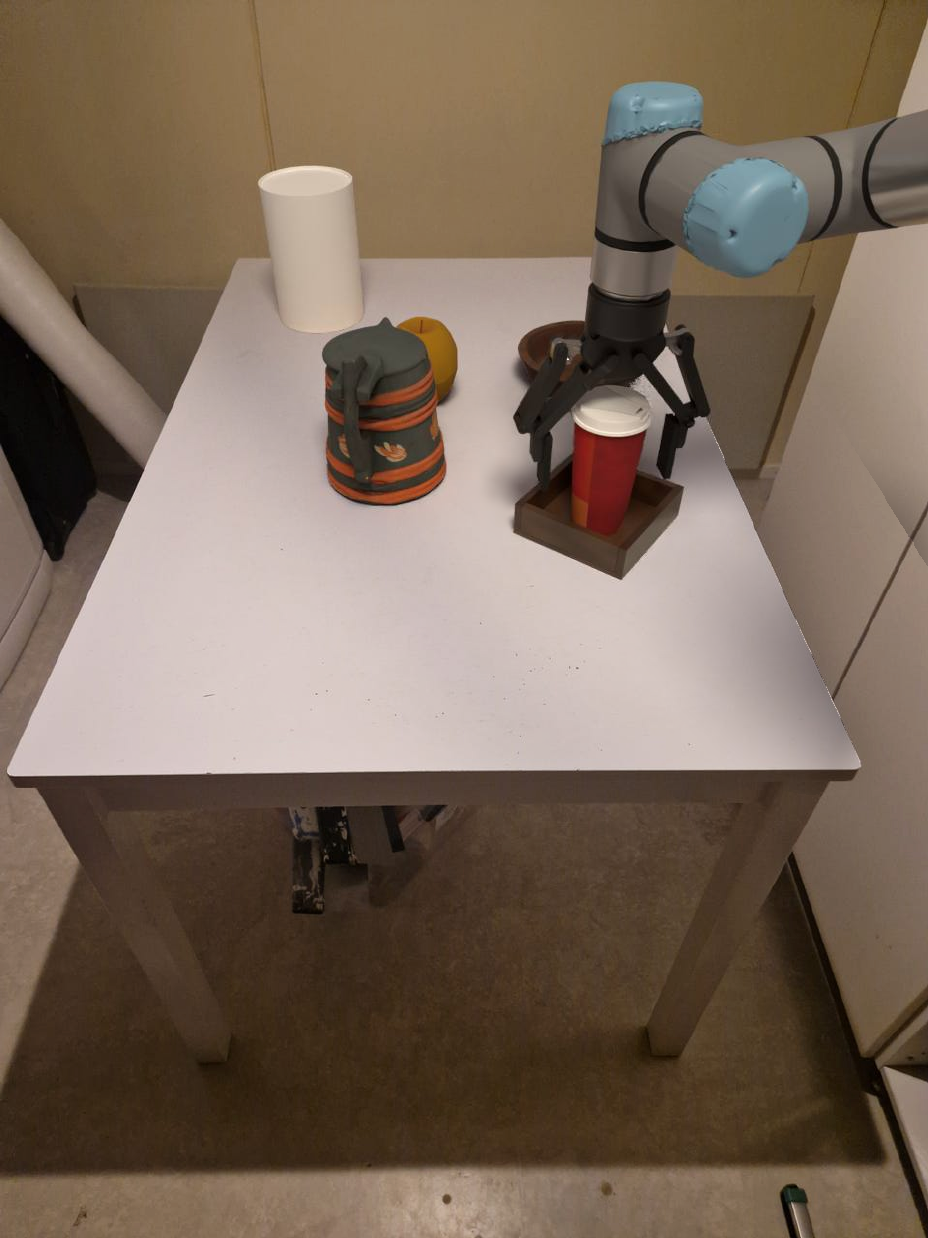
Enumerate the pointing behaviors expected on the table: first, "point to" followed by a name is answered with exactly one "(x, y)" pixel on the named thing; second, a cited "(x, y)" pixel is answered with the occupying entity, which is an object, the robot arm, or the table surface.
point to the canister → (313, 247)
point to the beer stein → (381, 416)
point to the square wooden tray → (612, 554)
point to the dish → (537, 346)
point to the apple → (436, 350)
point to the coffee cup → (606, 455)
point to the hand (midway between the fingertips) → (603, 478)
